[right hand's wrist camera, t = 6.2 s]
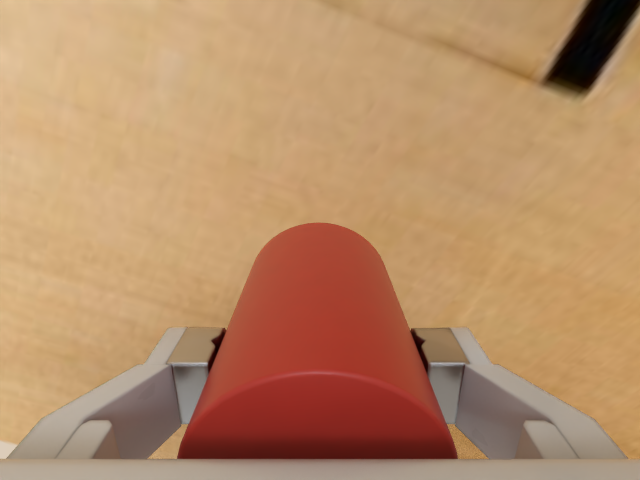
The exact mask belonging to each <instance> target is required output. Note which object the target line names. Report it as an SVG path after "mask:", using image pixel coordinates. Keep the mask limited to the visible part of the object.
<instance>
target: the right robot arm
mask: <svg viewBox="0 0 640 480" xmlns="http://www.w3.org/2000/svg"><path fill="white" fill-rule="evenodd" d="M410 332H411V334H412V337H413V339H414V342H415V345H416V347H417V350H418V352H419V355H420V357H421V360H422V362H423V365H424V368H425V370H426V373H427V375H428V378H429V380H430V383H431V385H432V388H433V391H434V393H435V396H436V398H437V401H438V403H439V406H440V408H441V411H442V414H443V416H444V419H445V421H446V424H455V426H456V427H457V428H458V429H459V430H460V431H461V432H462V433H463V434H464V435H465V436H466V437H467V438H468V439H469V440H470V441H471V442H472V443H473V444H474V445H475V446H477V447H478V448H479V449H480V450H481V451H482V452H483V453H484V454H485V455H486V456H487V457H488V458H489V459H147V458H148V457H149V456H150V455H151V454H152V453H153V452H155V451H156V450H157V449H158V448H159V447H160V446H161V445H162V444H163V443H164V442H165V441H166V440H167V439H168V438H169V437H170V436H171V435H172V434H173V433H174V432H175V431H176V430H177V429H179V428H180V427H181V424H189V422H190V420H191V417H192V415H193V412H194V410H195V407H196V405H197V402H198V400H199V397H200V395H201V392H202V390H203V387H204V385H205V383H206V380H207V378H208V375H209V373H210V370H211V368H212V365H213V363H214V360H215V358H216V355H217V353H218V350H219V348H220V345H221V343H222V341H223V338H224V336H225V333H226V330H225V328H204V327H189V328H188V327H171V328H168V329H167V330H166V332H165V333H164V335H163V336H162V338H161V339H160V341H159V342H158V343H157V345H156V346H155V348H154V349H153V351H152V352H151V354H150V355H149V357H148V358H147V360H146V361H145V363H144V364H138V365H136V366H134V367H132V368H130V369H129V370H127V371H125V372H123V373H122V374H120V375H118V376H116V377H114V378H113V379H111V380H109V381H107V382H106V383H104V384H102V385H100V386H98V387H97V388H95V389H93V390H91V391H90V392H88V393H86V394H84V395H82V396H81V397H79V398H77V399H75V400H74V401H72V402H70V403H68V404H66V405H65V406H63V407H61V408H59V409H58V410H56V411H54V412H52V413H50V414H49V415H47V416H45V417H43V418H42V419H41V420H40V421H39V422H38V423H37V424H36V425H35V426H34V428H33V429H32V430H31V431H30V432H29V433H28V434H27V436H26V437H25V438H24V439H23V440H22V441H21V442H20V443H19V445H18V446H17V447H16V448H15V449H14V450H13V451H12V453H11V454H10V455H9V456H8V457H7V458H6V459H0V480H640V459H628V458H627V457H626V455H625V454H624V453H623V452H622V451H621V450H620V448H619V447H618V446H617V445H616V444H615V443H614V441H613V440H612V439H611V438H610V437H609V436H608V434H607V433H606V432H605V431H604V430H603V429H602V427H601V426H600V425H599V424H598V423H597V422H596V420H595V419H593V418H591V417H590V416H588V415H586V414H584V413H583V412H581V411H579V410H577V409H576V408H574V407H572V406H570V405H569V404H567V403H565V402H563V401H562V400H560V399H558V398H556V397H555V396H553V395H551V394H549V393H548V392H546V391H544V390H542V389H541V388H539V387H537V386H535V385H534V384H532V383H530V382H528V381H527V380H525V379H523V378H521V377H519V376H518V375H516V374H514V373H512V372H511V371H509V370H507V369H505V368H504V367H502V366H500V365H498V364H492V363H491V361H490V360H489V358H488V357H487V355H486V354H485V352H484V351H483V349H482V348H481V346H480V345H479V343H478V342H477V340H476V339H475V337H474V336H473V334H472V333H471V331H470V330H469V328H467V327H448V328H411V331H410Z"/></svg>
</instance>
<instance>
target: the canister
mask: <svg viewBox="0 0 640 480" xmlns="http://www.w3.org/2000/svg"><path fill="white" fill-rule="evenodd" d="M177 459H458V457H457V452H456V448H455V445H454V442H453V439H452V436H451V434H450V431H449V429H448V426H447V424H446V421H445V419H444V416H443V414H442V411H441V408H440V406H439V403H438V401H437V398H436V396H435V393H434V391H433V388H432V385H431V383H430V380H429V378H428V375H427V373H426V370H425V368H424V365H423V362H422V360H421V357H420V355H419V352H418V350H417V347H416V345H415V342H414V339H413V337H412V334H411V332H410V329H409V327H408V324H407V322H406V319H405V317H404V314H403V311H402V309H401V306H400V304H399V301H398V299H397V296H396V294H395V291H394V288H393V286H392V283H391V281H390V278H389V276H388V273H387V271H386V268H385V265H384V263H383V261H382V259H381V257H380V255H379V254H378V252H377V251H376V249H375V248H374V247H373V246H372V245H371V244H370V243H369V242H368V241H367V240H366V239H365V238H363V237H362V236H361V235H359V234H357V233H356V232H354V231H352V230H350V229H348V228H345V227H342V226H339V225H335V224H329V223H308V224H303V225H298V226H295V227H292V228H290V229H287V230H285V231H283V232H281V233H280V234H278V235H277V236H275V237H274V238H273V239H272V240H270V241H269V242H268V243H267V244H266V245H265V246H264V248H263V249H262V250H261V251H260V253H259V254H258V256H257V258H256V260H255V262H254V264H253V266H252V269H251V271H250V274H249V276H248V279H247V281H246V284H245V286H244V289H243V291H242V294H241V296H240V299H239V301H238V304H237V306H236V308H235V311H234V313H233V316H232V318H231V321H230V323H229V326H228V328H227V331H226V333H225V336H224V338H223V341H222V343H221V345H220V348H219V350H218V353H217V355H216V358H215V360H214V363H213V365H212V368H211V370H210V373H209V375H208V378H207V380H206V383H205V385H204V387H203V390H202V392H201V395H200V397H199V400H198V402H197V405H196V407H195V410H194V412H193V415H192V417H191V420H190V422H189V424H188V427H187V429H186V432H185V434H184V437H183V439H182V442H181V445H180V449H179V452H178V456H177Z"/></svg>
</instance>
